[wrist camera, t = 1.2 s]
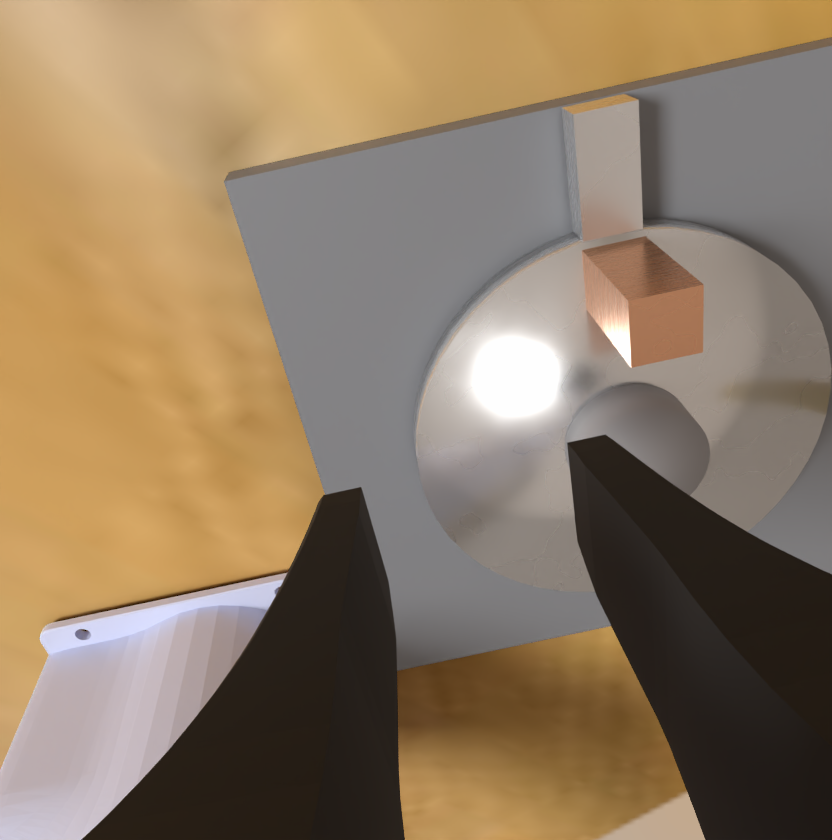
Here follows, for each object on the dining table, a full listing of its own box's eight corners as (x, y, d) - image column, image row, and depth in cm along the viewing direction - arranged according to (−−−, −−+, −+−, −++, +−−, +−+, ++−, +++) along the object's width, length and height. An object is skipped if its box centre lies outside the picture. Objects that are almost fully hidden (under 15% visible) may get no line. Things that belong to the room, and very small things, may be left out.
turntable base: (381, 652, 28) (387, 741, 25) (228, 172, 19) (207, 212, 16) (853, 553, 28) (921, 629, 25) (934, 14, 18) (1062, 22, 15)
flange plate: (450, 602, 25) (470, 710, 22) (345, 155, 18) (348, 203, 14) (796, 529, 25) (877, 625, 21) (842, 44, 18) (982, 63, 14)
